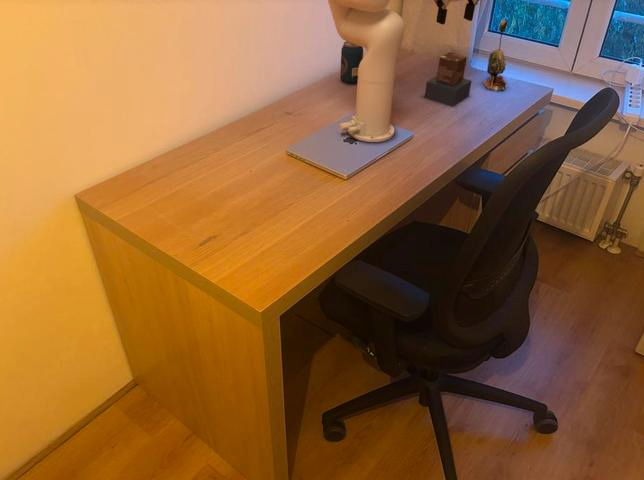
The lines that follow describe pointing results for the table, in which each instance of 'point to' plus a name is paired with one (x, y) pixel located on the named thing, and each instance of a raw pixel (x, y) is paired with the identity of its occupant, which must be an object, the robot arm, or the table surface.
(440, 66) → the box
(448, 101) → the block
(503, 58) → the plant with pod
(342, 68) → the soda can
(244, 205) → the table surface
